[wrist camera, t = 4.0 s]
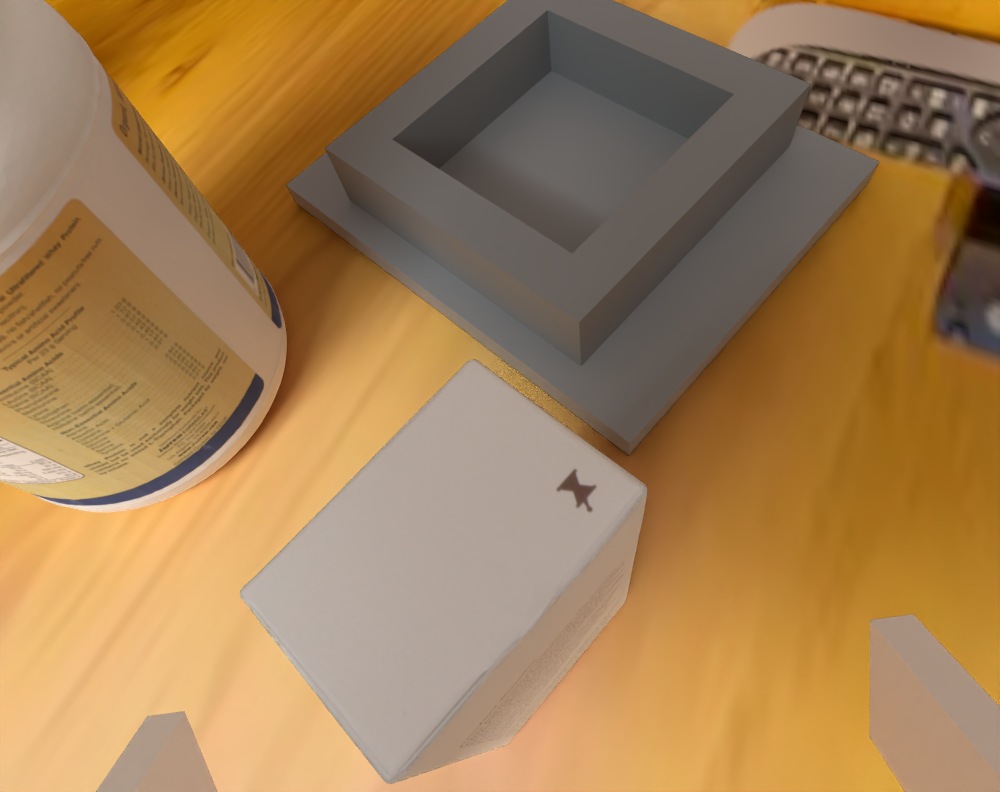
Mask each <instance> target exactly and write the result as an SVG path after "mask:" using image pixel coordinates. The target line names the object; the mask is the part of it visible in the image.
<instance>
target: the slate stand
mask: <svg viewBox="0 0 1000 792" xmlns="http://www.w3.org/2000/svg"><path fill="white" fill-rule="evenodd" d="M810 86H811V84H809V83H807V82H805V81H802V80H800V79H798V78H795V77H793V76H790V75H788V74H786V73H783V72H781V71H779V70H776V69H774V68H771V67H769V66H767V65H764V64H762V63H760V62H757V61H755V60H752V59H750V58H748V57H745V56H743V55H741V54H738V53H736V52H734V51H731V50H729V49H726V48H724V47H722V46H719V45H717V44H715V43H712V42H710V41H707V40H705V39H703V38H700V37H698V36H696V35H693V34H691V33H688V32H686V31H684V30H681V29H679V28H677V27H674V26H672V25H670V24H667V23H665V22H662V21H660V20H658V19H655V18H653V17H651V16H648V15H646V14H643V13H641V12H639V11H636V10H634V9H632V8H629V7H627V6H624V5H622V4H620V3H617V2H615V1H613V0H507V1H506V2H505V3H504V4H503V5H501V6H500V7H499V8H498V9H496V10H495V11H494V12H493V13H491V14H490V15H489V16H488V17H486V18H485V19H484V20H483V21H481V22H480V23H479V24H478V25H477V26H475V27H474V28H473V29H472V30H470V31H469V32H468V33H467V34H465V35H464V36H463V37H462V38H460V39H459V40H458V41H457V42H456V43H454V44H453V45H452V46H451V47H449V48H448V49H447V50H446V51H444V52H443V53H442V54H441V55H439V56H438V57H437V58H436V59H434V60H433V61H432V62H431V63H430V64H428V65H427V66H426V67H425V68H423V69H422V70H421V71H420V72H418V73H417V74H416V75H415V76H413V77H412V78H411V79H410V80H409V81H407V82H406V83H405V84H404V85H402V86H401V87H400V88H399V89H397V90H396V91H395V92H394V93H392V94H391V95H390V96H389V97H387V98H386V99H385V100H384V101H383V102H381V103H380V104H379V105H378V106H376V107H375V108H374V109H373V110H371V111H370V112H369V113H368V114H366V115H365V116H364V117H363V118H361V119H360V120H359V121H358V122H357V123H355V124H354V125H353V126H352V127H350V128H349V129H348V130H347V131H345V132H344V133H343V134H342V135H340V136H339V137H338V138H337V139H336V140H334V141H333V142H332V143H331V144H329V145H328V146H327V147H326V148H325V150H326V153H325V154H324V155H322V156H321V157H320V158H319V159H317V160H316V161H315V162H314V163H312V164H311V165H310V166H309V167H308V168H306V169H305V170H304V171H303V172H301V173H300V174H299V175H298V176H296V177H295V178H294V179H293V180H291V181H290V182H289V183H288V184H287V185H286V186H287V188H288V190H289V191H290V193H291V195H292V196H293V198H294V200H295V202H296V203H297V204H298V205H299V206H301V207H302V208H303V209H305V210H306V211H307V212H309V213H310V214H311V215H313V216H314V217H315V218H317V219H318V220H319V221H321V222H322V223H323V224H324V225H326V226H327V227H328V228H330V229H331V230H332V231H334V232H335V233H336V234H338V235H339V236H340V237H342V238H343V239H344V240H346V241H347V242H348V243H349V244H351V245H352V246H353V247H355V248H356V249H357V250H359V251H360V252H361V253H363V254H364V255H365V256H367V257H368V258H369V259H371V260H372V261H373V262H375V263H376V264H377V265H378V266H380V267H381V268H382V269H384V270H385V271H386V272H388V273H389V274H390V275H392V276H393V277H394V278H396V279H397V280H398V281H400V282H401V283H402V284H403V285H405V286H406V287H407V288H409V289H410V290H411V291H413V292H414V293H415V294H417V295H418V296H419V297H421V298H422V299H423V300H425V301H426V302H427V303H428V304H430V305H431V306H432V307H434V308H435V309H436V310H438V311H439V312H440V313H442V314H443V315H444V316H446V317H447V318H448V319H450V320H451V321H452V322H454V323H455V324H456V325H457V326H459V327H460V328H461V329H463V330H464V331H465V332H467V333H468V334H469V335H471V336H472V337H473V338H475V339H476V340H477V341H479V342H480V343H481V344H482V345H484V346H485V347H486V348H488V349H489V350H490V351H492V352H493V353H494V354H496V355H497V356H498V357H500V358H501V359H502V360H504V361H505V362H506V363H507V364H509V365H510V366H511V367H513V368H514V369H515V370H517V371H518V372H519V373H521V374H522V375H523V376H525V377H526V378H527V379H529V380H530V381H531V382H533V383H534V384H535V385H536V386H538V387H539V388H540V389H542V390H543V391H544V392H546V393H547V394H548V395H550V396H551V397H552V398H554V399H555V400H556V401H558V402H559V403H560V404H561V405H563V406H564V407H565V408H567V409H568V410H569V411H571V412H572V413H573V414H575V415H576V416H577V417H579V418H580V419H581V420H583V421H584V422H585V423H586V424H588V425H589V426H590V427H592V428H593V429H594V430H596V431H597V432H598V433H600V434H601V435H602V436H604V437H605V438H606V439H608V440H609V441H610V442H612V443H613V444H614V445H615V446H617V447H618V448H619V449H621V450H622V451H623V452H625V453H626V454H627V455H630V453H631V452H632V451H633V450H634V449H635V448H636V447H637V446H638V444H639V443H640V442H641V441H642V440H643V439H644V438H645V436H646V435H647V434H648V433H649V432H650V431H651V430H652V428H653V427H654V426H655V425H656V424H657V423H658V422H659V421H660V419H661V418H662V417H663V416H664V415H665V414H666V413H667V411H668V410H669V409H670V408H671V407H672V406H673V405H674V403H675V402H676V401H677V400H678V399H679V398H680V397H681V396H682V394H683V393H684V392H685V391H686V390H687V389H688V388H689V386H690V385H691V384H692V383H693V382H694V381H695V380H696V378H697V377H698V376H699V375H700V374H701V373H702V372H703V371H704V369H705V368H706V367H707V366H708V365H709V364H710V363H711V361H712V360H713V359H714V358H715V357H716V356H717V355H718V353H719V352H720V351H721V350H722V349H723V348H724V347H725V346H726V344H727V343H728V342H729V341H730V340H731V339H732V338H733V336H734V335H735V334H736V333H737V332H738V331H739V330H740V329H741V327H742V326H743V325H744V324H745V323H746V322H747V321H748V319H749V318H750V317H751V316H752V315H753V314H754V313H755V311H756V310H757V309H758V308H759V307H760V306H761V305H762V304H763V302H764V301H765V300H766V299H767V298H768V297H769V296H770V294H771V293H772V292H773V291H774V290H775V289H776V288H777V286H778V285H779V284H780V283H781V282H782V281H783V280H784V279H785V277H786V276H787V275H788V274H789V273H790V272H791V271H792V269H793V268H794V267H795V266H796V265H797V264H798V263H799V261H800V260H801V259H802V258H803V257H804V256H805V255H806V254H807V252H808V251H809V250H810V249H811V248H812V247H813V246H814V244H815V243H816V242H817V241H818V240H819V239H820V238H821V236H822V235H823V234H824V233H825V232H826V231H827V230H828V229H829V227H830V226H831V225H832V224H833V223H834V222H835V221H836V219H837V218H838V217H839V216H840V215H841V214H842V213H843V211H844V210H845V209H846V208H847V207H848V206H849V205H850V204H851V202H852V201H853V200H854V199H855V198H856V197H857V196H858V194H859V193H860V192H861V191H862V190H863V189H864V188H865V187H866V185H867V184H868V183H869V181H870V179H871V177H872V175H873V173H874V171H875V169H876V167H877V165H878V164H879V161H877V160H875V159H873V158H870V157H868V156H866V155H864V154H862V153H859V152H857V151H855V150H853V149H851V148H848V147H846V146H844V145H842V144H840V143H837V142H835V141H833V140H831V139H828V138H826V137H824V136H822V135H820V134H817V133H815V132H813V131H811V130H809V129H806V128H804V127H802V126H800V125H798V121H799V118H800V115H801V112H802V109H803V106H804V103H805V100H806V97H807V95H808V92H809V89H810Z"/></svg>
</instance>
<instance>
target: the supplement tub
mask: <svg viewBox="0 0 1000 792" xmlns="http://www.w3.org/2000/svg"><path fill="white" fill-rule="evenodd" d="M286 354H287V335H286V327H285V321H284V318H283V314H282V311H281V307H280V305H279V302H278V299H277V297H276V294H275V292H274V290H273V288H272V286H271V284H270V283H269V281H268V280H267V279H266V277H265V276H264V275H263V274H262V272H261V271H260V270H259V269H258V268H257V267H256V266H255V264H254V263H253V262H252V260H251V259H250V258H249V256H248V255H247V254H246V252H245V251H244V250H243V248H242V247H241V246H240V245H239V243H238V242H237V241H236V239H235V238H234V237H233V235H232V234H231V233H230V231H229V230H228V229H227V227H226V226H225V225H224V224H223V222H222V221H221V220H220V218H219V217H218V216H217V214H216V213H215V212H214V210H213V209H212V208H211V206H210V205H209V204H208V203H207V201H206V200H205V199H204V197H203V196H202V195H201V193H200V192H199V191H198V189H197V188H196V187H195V185H194V184H193V183H192V182H191V180H190V179H189V178H188V176H187V175H186V174H185V172H184V171H183V170H182V168H181V167H180V166H179V165H178V163H177V162H176V161H175V159H174V158H173V157H172V155H171V154H170V153H169V151H168V150H167V149H166V147H165V146H164V145H163V144H162V142H161V141H160V140H159V138H158V137H157V136H156V135H155V133H154V132H153V131H152V129H151V128H150V127H149V126H148V124H147V123H146V122H145V120H144V119H143V118H142V117H141V115H140V114H139V113H138V111H137V110H136V109H135V107H134V106H133V105H132V104H131V102H130V101H129V100H128V98H127V97H126V96H125V95H124V93H123V92H122V91H121V89H120V88H119V87H118V86H117V84H116V83H115V82H114V80H113V79H112V78H111V76H110V75H109V74H108V73H107V71H106V70H105V69H104V67H103V66H102V65H101V64H100V62H99V61H98V60H97V58H96V57H95V56H94V55H93V53H92V51H91V49H90V47H89V46H88V45H87V43H86V42H85V40H84V39H83V37H82V36H81V35H80V34H79V33H78V32H77V31H75V30H74V29H73V28H72V27H71V26H70V24H69V23H68V22H67V21H66V20H65V19H64V18H63V17H62V16H61V15H60V14H59V13H58V12H57V11H56V10H55V9H54V8H53V7H51V6H50V5H49V4H48V3H47V2H45V1H44V0H0V482H2V483H4V484H7V485H10V486H12V487H15V488H17V489H20V490H23V491H25V492H28V493H31V494H33V495H35V496H37V497H39V498H41V499H43V500H45V501H47V502H50V503H53V504H56V505H60V506H65V507H70V508H74V509H79V510H84V511H91V512H118V511H127V510H132V509H138V508H142V507H145V506H149V505H152V504H156V503H159V502H162V501H164V500H167V499H170V498H172V497H174V496H176V495H178V494H181V493H183V492H184V491H186V490H188V489H190V488H192V487H194V486H195V485H197V484H199V483H200V482H202V481H203V480H205V479H206V478H208V477H209V476H211V475H212V474H213V473H215V472H216V471H217V470H219V469H220V468H221V467H222V466H224V465H225V464H226V463H227V462H228V461H229V460H230V459H231V458H232V457H233V456H234V455H235V454H236V453H237V452H238V451H239V450H240V449H241V448H242V447H243V446H244V445H245V444H246V443H247V442H248V440H249V439H250V438H251V436H252V435H253V434H254V433H255V431H256V430H257V428H258V427H259V426H260V424H261V423H262V421H263V419H264V418H265V416H266V414H267V412H268V411H269V409H270V407H271V405H272V403H273V401H274V398H275V396H276V394H277V391H278V389H279V386H280V384H281V381H282V377H283V373H284V368H285V363H286Z"/></svg>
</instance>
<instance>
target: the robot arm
mask: <svg viewBox="0 0 1000 792" xmlns="http://www.w3.org/2000/svg"><path fill="white" fill-rule="evenodd" d="M870 739H871V740H872V742H873V743H874V745H875V746H876V748H877V749H878V751H879V752H880V754H881V755H882V757H883V759H884V760H885V762H886V763H887V765H888V766H889V768H890V769H891V771H892V772H893V774H894V776H895V777H896V779H897V780H898V782H899V783H900V785H901V786H902V788H903V789H904V791H905V792H1000V707H999V705H998V704H997V703H996V702H995V701H994V700H993V699H992V698H991V697H990V696H989V695H988V694H987V693H986V692H985V691H984V689H983V688H982V687H981V686H980V685H979V684H978V683H977V682H976V681H975V680H974V679H973V678H972V677H971V676H970V674H969V673H968V672H967V671H966V670H965V669H964V668H963V667H962V666H961V665H960V664H959V663H958V662H957V661H956V659H955V658H954V657H953V656H952V655H951V654H950V653H949V652H948V651H947V650H946V649H945V648H944V647H943V646H942V645H941V643H940V642H939V641H938V640H937V639H936V638H935V637H934V636H933V635H932V634H931V633H930V632H929V631H928V630H927V628H926V627H925V626H924V625H923V624H922V623H921V622H920V621H919V620H918V619H917V618H916V617H915V616H914V615H913V614H912V615H904V616H897V617H889V618H882V619H874V620H870ZM96 792H217V789H216V787H215V784H214V782H213V779H212V777H211V775H210V772H209V770H208V767H207V765H206V762H205V760H204V758H203V755H202V753H201V750H200V748H199V745H198V743H197V741H196V738H195V736H194V733H193V731H192V728H191V726H190V724H189V721H188V719H187V716H186V714H185V711H183V712H175V713H168V714H160V715H153V716H147V718H146V719H145V721H144V722H143V724H142V725H141V726H140V728H139V729H138V731H137V732H136V734H135V735H134V737H133V738H132V740H131V741H130V743H129V744H128V746H127V747H126V748H125V750H124V751H123V753H122V754H121V756H120V757H119V759H118V760H117V762H116V763H115V765H114V766H113V768H112V769H111V770H110V772H109V773H108V775H107V776H106V778H105V779H104V781H103V782H102V784H101V785H100V787H99V788H98V790H97V791H96Z"/></svg>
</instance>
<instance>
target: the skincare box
mask: <svg viewBox="0 0 1000 792" xmlns="http://www.w3.org/2000/svg"><path fill="white" fill-rule="evenodd" d="M647 492H648V490H647V487H646V485H645V484H644V483H643V482H641V481H640V480H638V479H637V478H636V477H634V476H633V475H632V474H630V473H629V472H627V471H626V470H625V469H623V468H622V467H621V466H619V465H618V464H616V463H615V462H614V461H612V460H611V459H610V458H608V457H607V456H605V455H604V454H603V453H601V452H600V451H599V450H597V449H596V448H594V447H593V446H592V445H590V444H589V443H588V442H586V441H585V440H584V439H582V438H581V437H580V436H578V435H577V434H576V433H574V432H573V431H572V430H570V429H569V428H567V427H566V426H565V425H563V424H562V423H561V422H559V421H558V420H557V419H555V418H554V417H553V416H551V415H550V414H549V413H547V412H546V411H545V410H543V409H542V408H540V407H539V406H538V405H536V404H535V403H534V402H532V401H531V400H530V399H528V398H527V397H526V396H524V395H523V394H522V393H520V392H519V391H518V390H516V389H515V388H514V387H512V386H511V385H510V384H508V383H507V382H506V381H504V380H503V379H502V378H500V377H499V376H498V375H496V374H495V373H494V372H492V371H491V370H490V369H488V368H487V367H486V366H484V365H483V364H482V363H480V362H479V361H477V360H476V359H473V360H470V361H468V362H467V363H466V364H465V365H464V366H463V367H462V368H461V369H460V370H459V371H458V372H457V373H456V374H455V375H454V376H453V377H452V378H451V379H450V380H449V381H448V382H447V383H446V384H445V385H444V386H443V387H442V388H441V389H440V390H439V391H438V392H437V393H436V394H435V395H434V396H433V397H432V398H431V399H430V400H429V401H428V402H427V403H426V404H425V405H424V406H423V407H422V408H421V409H420V410H419V411H418V412H417V413H416V414H415V415H414V416H413V417H412V418H411V419H410V420H409V421H408V422H407V423H406V424H405V425H404V426H403V427H402V428H401V429H400V430H399V431H398V432H397V433H396V434H395V435H394V436H393V437H392V438H391V439H390V440H389V441H388V442H387V443H386V444H385V445H384V446H383V447H382V448H381V449H380V450H379V452H378V453H377V454H376V455H375V456H374V457H373V458H372V459H371V460H370V461H369V462H368V463H367V464H366V465H365V466H364V467H363V468H362V469H361V470H360V471H359V472H358V473H357V474H356V475H355V476H354V477H353V478H352V479H351V480H350V481H349V482H348V483H347V484H346V485H345V486H344V487H343V488H342V489H341V490H340V492H339V493H338V494H337V495H336V496H335V497H334V498H333V499H332V500H331V501H330V502H329V503H328V504H327V505H326V506H325V507H324V508H323V509H322V510H321V511H320V512H319V513H318V514H317V515H316V516H315V517H314V518H313V519H312V520H311V521H310V522H309V523H308V524H307V525H306V526H305V527H304V528H303V529H302V530H301V531H300V532H299V533H298V534H297V535H296V536H295V537H294V538H293V539H292V540H291V541H290V542H289V543H288V544H287V545H286V546H285V547H284V548H283V549H282V550H281V551H280V552H279V553H278V554H277V555H276V556H275V557H274V558H273V559H272V560H271V561H270V562H269V563H268V564H267V565H266V566H265V567H264V568H263V569H262V570H261V571H260V572H259V573H258V574H257V575H256V576H255V577H254V578H253V579H252V580H251V581H249V582H248V583H247V584H246V585H245V586H244V587H243V588H242V589H241V591H240V596H241V598H242V600H243V601H244V602H245V603H246V605H247V606H248V607H249V608H250V610H251V611H252V612H253V613H254V615H255V616H256V617H257V619H258V620H259V621H260V623H261V624H262V625H263V626H264V628H265V629H266V630H267V632H268V633H269V634H270V636H271V637H272V638H273V639H274V641H275V642H276V643H277V645H278V646H279V647H280V648H281V650H282V651H283V652H284V654H285V655H286V656H287V657H288V659H289V660H290V661H291V663H292V664H293V665H294V667H295V668H296V669H297V670H298V672H299V673H300V674H301V675H302V677H303V678H304V679H305V680H306V682H307V683H308V684H309V685H310V687H311V688H312V689H313V691H314V692H315V693H316V694H317V696H318V697H319V698H320V700H321V701H322V702H323V704H324V705H325V706H326V708H327V709H328V710H329V712H330V713H331V714H332V716H333V717H334V718H335V719H336V721H337V722H338V723H339V724H340V726H341V727H342V728H343V730H344V731H345V732H346V733H347V735H348V736H349V737H350V738H351V740H352V741H353V742H354V743H355V745H356V746H357V747H358V748H359V750H360V751H361V752H362V753H363V755H364V756H365V757H366V759H367V760H368V761H369V762H370V764H371V765H372V766H373V768H374V769H375V770H376V771H377V773H378V774H379V775H380V776H381V778H382V779H383V780H384V781H385V782H386V783H389V784H392V783H396V782H399V781H402V780H405V779H407V778H410V777H414V776H417V775H419V774H422V773H426V772H428V771H431V770H434V769H437V768H440V767H443V766H446V765H449V764H451V763H454V762H458V761H461V760H464V759H467V758H470V757H472V756H475V755H478V754H481V753H484V752H487V751H490V750H493V749H496V748H499V747H502V746H505V745H507V744H508V743H509V742H510V741H511V740H512V739H513V738H514V736H515V735H516V734H517V733H518V732H519V730H520V729H521V728H522V727H523V726H524V724H525V723H526V722H527V721H528V720H529V718H530V717H531V716H532V715H533V714H534V712H535V711H536V710H537V709H538V708H539V707H540V705H541V704H542V703H543V702H544V700H545V699H546V698H547V697H548V696H549V694H550V693H551V692H552V691H553V690H554V688H555V687H556V686H557V685H558V683H559V682H560V681H561V680H562V679H563V677H564V676H565V675H566V674H567V673H568V671H569V670H570V669H571V668H572V666H573V665H574V664H575V663H576V662H577V660H578V659H579V658H580V657H581V655H582V654H583V653H584V652H585V650H586V649H587V648H588V647H589V646H590V644H591V643H592V642H593V641H594V639H595V638H596V637H597V636H598V634H599V633H600V632H601V631H602V630H603V628H604V627H605V626H606V625H607V623H608V622H609V621H610V620H611V619H612V617H613V616H614V615H615V614H616V612H617V611H618V610H619V609H620V608H621V607H622V605H623V604H624V603H625V602H626V598H627V594H628V589H629V584H630V579H631V573H632V568H633V563H634V558H635V554H636V548H637V543H638V538H639V534H640V530H641V525H642V521H643V516H644V510H645V504H646V499H647Z"/></svg>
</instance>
